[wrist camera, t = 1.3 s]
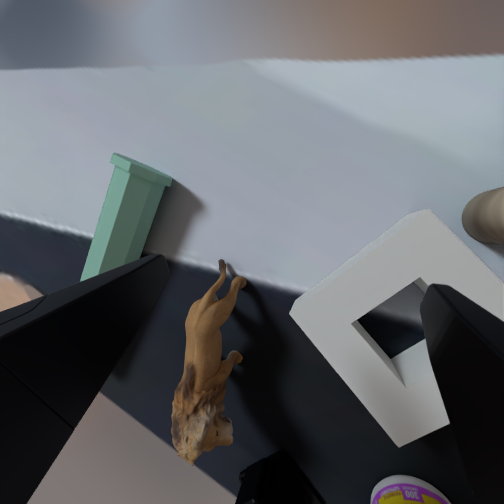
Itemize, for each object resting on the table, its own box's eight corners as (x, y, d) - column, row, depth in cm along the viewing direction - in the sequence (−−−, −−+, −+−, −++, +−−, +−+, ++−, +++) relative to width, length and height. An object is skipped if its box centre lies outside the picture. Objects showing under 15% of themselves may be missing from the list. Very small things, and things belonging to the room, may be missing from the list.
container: (53, 389, 25) (124, 161, 19) (44, 349, 28) (102, 147, 23) (113, 371, 29) (184, 184, 24) (99, 340, 33) (158, 169, 27)
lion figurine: (257, 397, 24) (220, 487, 16) (211, 391, 26) (154, 469, 17) (246, 257, 23) (201, 269, 15) (199, 260, 25) (134, 272, 16)
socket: (525, 333, 17) (582, 360, 13) (384, 408, 20) (398, 447, 17) (407, 214, 19) (428, 208, 15) (295, 300, 22) (289, 313, 18)
